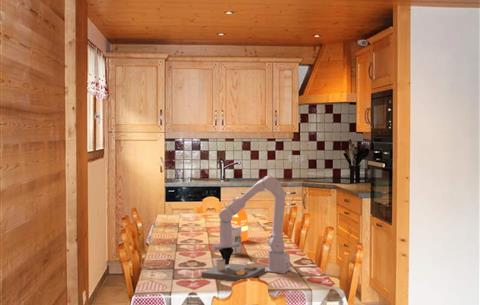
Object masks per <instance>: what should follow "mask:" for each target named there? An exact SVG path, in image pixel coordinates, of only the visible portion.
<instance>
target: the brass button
mask: <svg viewBox="0 0 480 305" xmlns="http://www.w3.org/2000/svg"><path fill="white" fill-rule="evenodd" d="M236 275H242V276H244V275H245V270H236Z"/></svg>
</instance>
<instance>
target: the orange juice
mask: <svg viewBox="0 0 480 305" xmlns="http://www.w3.org/2000/svg"><path fill="white" fill-rule="evenodd" d="M231 224H232V226H233V225H238V226H241V227H242V242H245V241H248V239H249V238H248V236H249V234H248V233H249V232H248V229H249V228H248V215H247V213H246V211H245V209H244V208H243V209H242V210H241V211H239V212H238V213H237V214H235V215H234V216H233V218H232V220H231Z"/></svg>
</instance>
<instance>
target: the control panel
mask: <svg viewBox="0 0 480 305" xmlns="http://www.w3.org/2000/svg"><path fill="white" fill-rule="evenodd" d="M236 270H245V275H244V276H242V275H236ZM265 270H266V267H264V266H256V265H255V270H247V269H246V264H239V263H230V262H229V264H228V265H225V270H217V265H215V266H213V267H210V268H207V269H206V270H204V271H202V272H201V277H202V278H210V279H217V280H225V281H234V282H238V281H237V280H240V279H246V278H250V277H255V278H256V277H257V276H260V275H261V274H264V273H265V272H266V271H265Z"/></svg>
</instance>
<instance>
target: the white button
mask: <svg viewBox="0 0 480 305" xmlns="http://www.w3.org/2000/svg"><path fill="white" fill-rule="evenodd" d="M245 265H246V269H247V270H255V266H256V262H254V261H247V262H246V263H245Z"/></svg>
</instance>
